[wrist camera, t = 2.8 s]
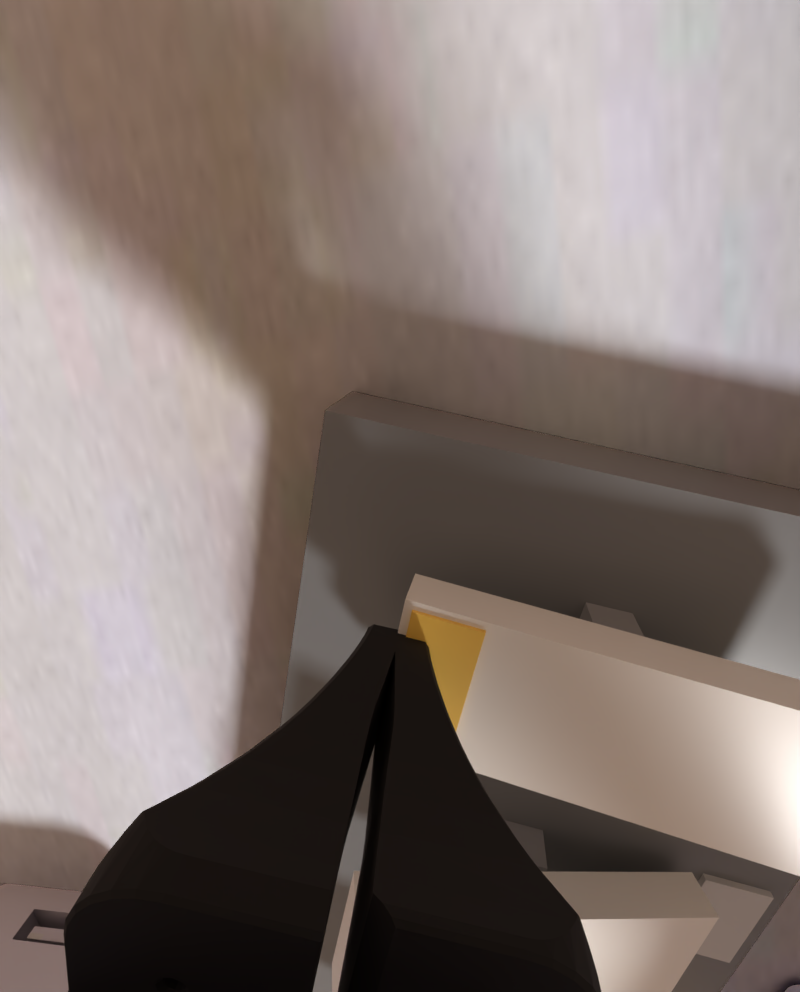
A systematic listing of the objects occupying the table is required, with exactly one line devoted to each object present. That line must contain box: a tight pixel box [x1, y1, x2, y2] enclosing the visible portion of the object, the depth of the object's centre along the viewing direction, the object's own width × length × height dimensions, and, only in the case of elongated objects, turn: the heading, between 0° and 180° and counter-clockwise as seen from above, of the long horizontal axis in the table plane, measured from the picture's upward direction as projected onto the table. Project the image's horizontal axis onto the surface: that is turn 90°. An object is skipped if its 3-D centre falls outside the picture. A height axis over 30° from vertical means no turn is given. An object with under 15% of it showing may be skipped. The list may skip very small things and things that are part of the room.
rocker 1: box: [398, 574, 800, 876], centre depth 12 cm, size 10×4×1 cm, turn 80°
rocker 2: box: [332, 871, 719, 992], centre depth 15 cm, size 10×4×1 cm, turn 79°
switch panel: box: [280, 392, 800, 992], centre depth 18 cm, size 16×26×4 cm, turn 170°
